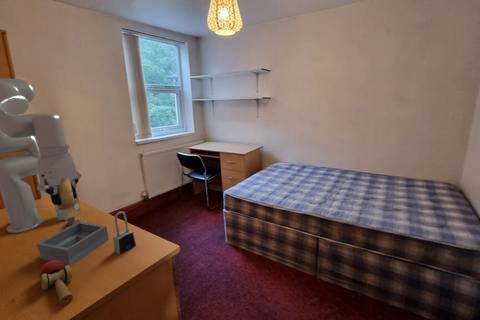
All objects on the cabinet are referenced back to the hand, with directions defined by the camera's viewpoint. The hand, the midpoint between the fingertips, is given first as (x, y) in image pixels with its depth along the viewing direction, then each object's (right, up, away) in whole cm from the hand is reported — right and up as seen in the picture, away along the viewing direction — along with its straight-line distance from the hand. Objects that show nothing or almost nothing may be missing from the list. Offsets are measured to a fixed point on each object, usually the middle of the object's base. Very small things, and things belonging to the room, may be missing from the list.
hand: (65, 200), depth 84 cm
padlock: (+19, -19, +4) cm, 27 cm away
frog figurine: (-11, -16, +21) cm, 29 cm away
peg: (0, -2, +1) cm, 2 cm away
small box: (-20, -13, +31) cm, 39 cm away
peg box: (+1, -19, +5) cm, 20 cm away
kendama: (+9, -24, -14) cm, 29 cm away
